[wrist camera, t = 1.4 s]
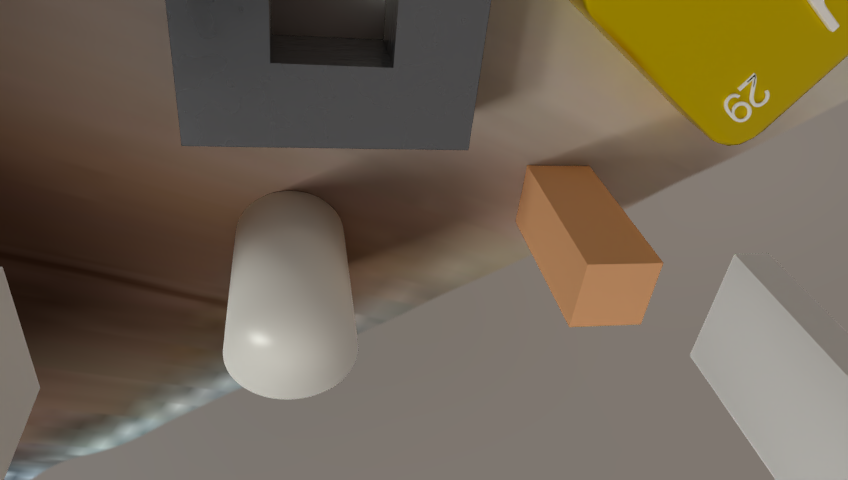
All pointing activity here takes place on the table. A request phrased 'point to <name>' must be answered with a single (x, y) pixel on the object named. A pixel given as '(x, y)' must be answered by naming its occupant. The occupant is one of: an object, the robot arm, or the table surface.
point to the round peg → (289, 299)
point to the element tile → (727, 54)
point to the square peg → (586, 247)
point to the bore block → (327, 77)
